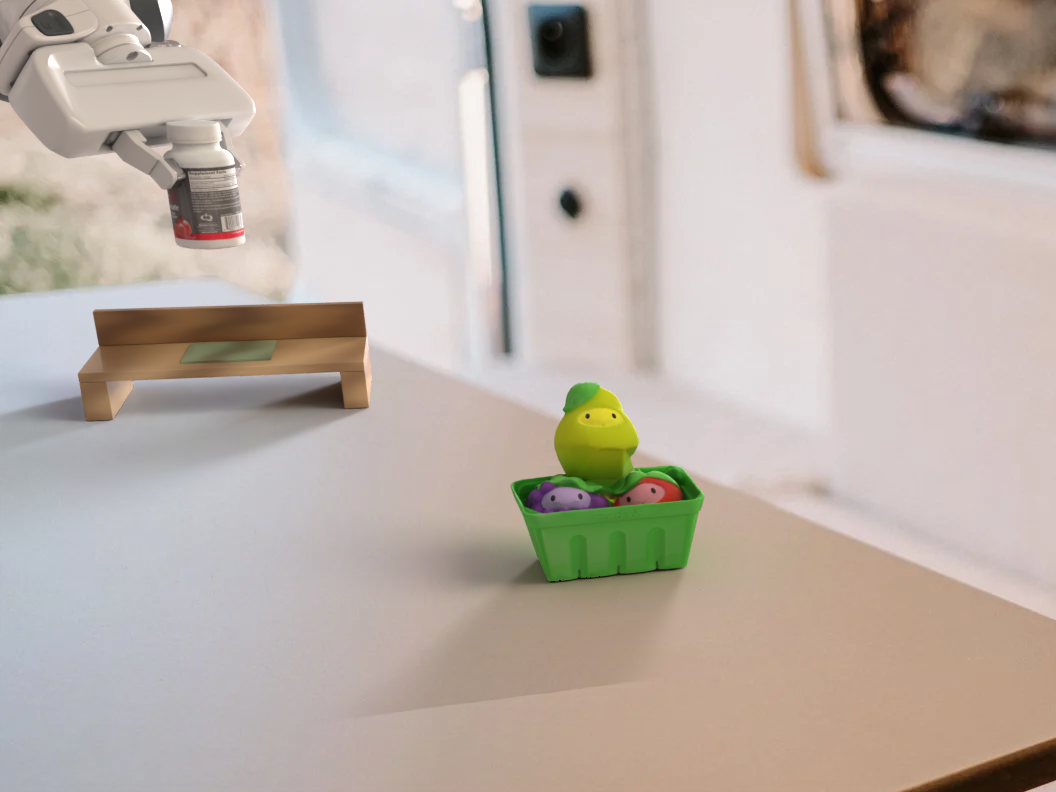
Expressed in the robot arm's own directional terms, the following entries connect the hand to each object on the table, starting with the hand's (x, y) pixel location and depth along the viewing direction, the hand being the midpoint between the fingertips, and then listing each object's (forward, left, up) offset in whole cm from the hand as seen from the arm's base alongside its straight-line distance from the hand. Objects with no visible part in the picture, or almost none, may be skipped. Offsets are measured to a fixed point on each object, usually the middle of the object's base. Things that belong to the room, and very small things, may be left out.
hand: (206, 179), depth 131 cm
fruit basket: (+27, -46, -19) cm, 57 cm away
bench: (0, +2, -19) cm, 19 cm away
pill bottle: (0, 0, -6) cm, 6 cm away
